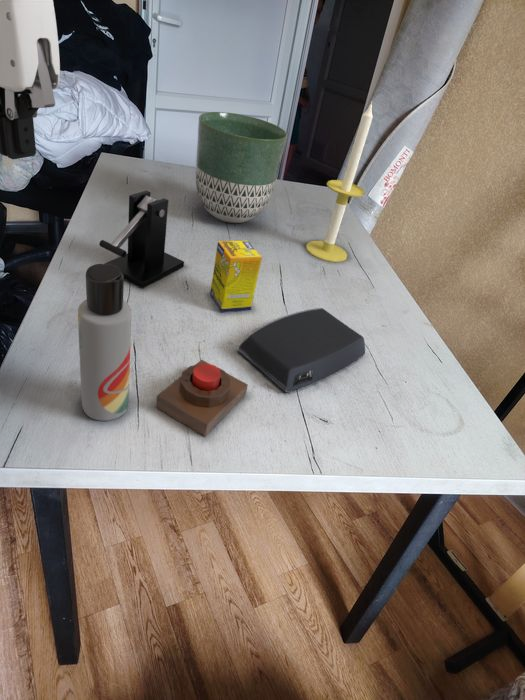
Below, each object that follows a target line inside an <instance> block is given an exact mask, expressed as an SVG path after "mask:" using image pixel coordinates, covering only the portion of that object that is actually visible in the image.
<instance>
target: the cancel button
mask: <svg viewBox="0 0 525 700" xmlns="http://www.w3.org/2000/svg"><path fill="white" fill-rule="evenodd" d="M217 367H218V366H216V365H214V364H211V363H209V364H200V365H197V366H196V367H195V368H194V370H193V377H192V383H193V385H194V387H196V388H198V389H199V390H203V391H212V390H215V389H216V388H217V387H218V386H219V381H220V376H221V372H220V370H219V369H218V368H219V367H218V368H217Z"/></svg>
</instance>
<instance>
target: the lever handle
mask: <svg viewBox="0 0 525 700" xmlns="http://www.w3.org/2000/svg"><path fill="white" fill-rule="evenodd" d="M154 201H157V199H156V198H154V197H152V196H150V197H149V196H147V195H146V196H145V197H144V199H143V200H142V201H141V202H140V203H139V204H138V205H137V208H138V210H139V212H138V214H137V215H136V216H135V217H134V218H133V219H132V220H131V222H130V223H129V224H127V225H126V226H125V227H124V228H123V229H122V231H121V232H120V233H119V234H118V235H117V236H116V237H115V238H114V239H113V241H112V242H108V241H107V240H104V239H101V240H100V242H99V243H98V245H99V247H101V248H102V249H105V250H106V251H109V252H111V253H112V254H115V255H116V256H118V257H125V256H126V254H128V251H127V250H125V249H123V248H121V247H122V246H123V245H124V243H126V241H128V237H129V236H130V235H131V234H132V233H133V232H134V231H135V229H136V228H137V227H138V226H139V225H140V224H141V222H142V221H143V220H144V219H145V218H147V205H148V203H151V202H154Z"/></svg>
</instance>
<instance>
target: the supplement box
mask: <svg viewBox="0 0 525 700" xmlns="http://www.w3.org/2000/svg"><path fill="white" fill-rule="evenodd" d="M216 245H217V246H216V250H215V251H216V252H215V259H214V265H213V272H212V278H211V285H210V291H209V295H210V296H211V298H212V299H213V301H214V302H215V304H216V306H217V307H218V310H219V311H220V313H233V312H241V311H243V312H244V311H251V310H252V305H253V301H254V295H255V291H256V287H257V283H258V277H259V273H260V269H261V264H262V260H263V257H262V256H261V254H259V252H258V251H257V250H256V249H255V247H254V246H253V245H252V243H251V242H250V241H249V240H248V239H247V240H246V239H245V240H219V241H217V243H216Z"/></svg>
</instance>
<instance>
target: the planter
mask: <svg viewBox="0 0 525 700" xmlns="http://www.w3.org/2000/svg"><path fill="white" fill-rule="evenodd" d="M197 124H198V125H197V142H196V143H197V145H196V160H195V161H196V163H195V186H196V191H197V192H196V193H197V196H198V198H199V201H200V203H201V205H202V206H203V207H204V209H205V210H206V211H207V212H208V213H209V214H210V215H211V216H213V217H214V218H215V219H217V220H219V221H222V222H225V223H230V224H241V223H245V222H248V221H250V220H252V219H254V218H256V217H257V216H259V215H260V214H261V213H262V212H263V211H264V210H265V208H266V207H267V205H268V203H269V201H270V199H271V196H272V194H273V191H274V189H275V184H276V180H277V178H278V177H277V176H278V173H279V171H280V170H279V169H280V165H281V162H282V158H283V155H284V152H285V147H286V142H287V139H288V133H287V132H286V130H285V129H284V128H282V127H280V126H278V125H276V124H275V123H272V122H269V121H267V120H264V119H261V118H258V117H253V116H249V115H245V114H239V113H233V112H225V111H224V112H223V111H211V112H210V111H208V112H204V113H201V114H199V116H198V123H197Z"/></svg>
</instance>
